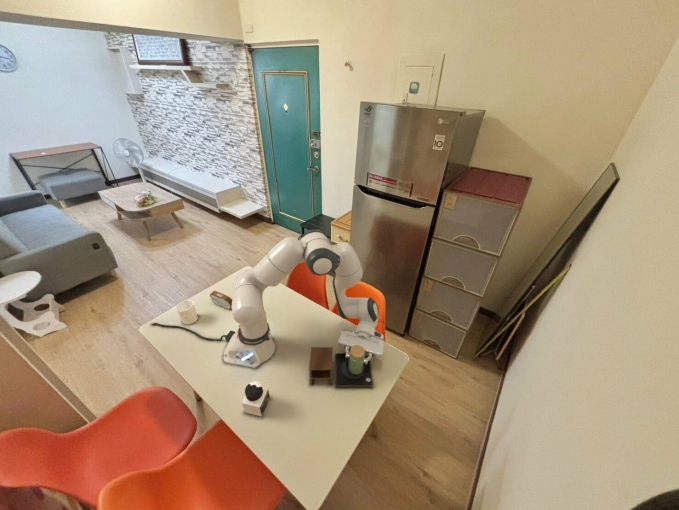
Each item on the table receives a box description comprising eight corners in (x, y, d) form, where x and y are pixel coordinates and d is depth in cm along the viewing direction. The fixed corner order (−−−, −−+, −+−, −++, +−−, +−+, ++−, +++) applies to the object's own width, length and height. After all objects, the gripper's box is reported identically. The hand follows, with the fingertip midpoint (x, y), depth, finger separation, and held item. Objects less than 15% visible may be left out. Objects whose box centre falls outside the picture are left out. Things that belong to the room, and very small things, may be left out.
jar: (348, 374, 110) (350, 357, 104) (347, 360, 115) (349, 344, 109) (363, 374, 110) (366, 357, 104) (362, 360, 116) (364, 344, 109)
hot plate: (335, 388, 108) (335, 384, 106) (335, 355, 120) (335, 351, 118) (372, 387, 108) (373, 383, 106) (368, 355, 121) (368, 351, 119)
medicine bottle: (262, 417, 98) (257, 400, 91) (244, 412, 99) (238, 395, 92) (270, 398, 103) (266, 380, 97) (253, 394, 104) (248, 376, 98)
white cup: (202, 318, 136) (197, 303, 130) (187, 327, 130) (181, 313, 125) (193, 311, 139) (187, 297, 134) (178, 321, 134) (172, 306, 128)
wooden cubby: (310, 384, 108) (309, 369, 102) (311, 362, 117) (311, 347, 111) (332, 384, 109) (332, 368, 103) (332, 362, 117) (332, 347, 111)
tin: (236, 308, 142) (233, 296, 137) (231, 312, 140) (228, 300, 135) (215, 299, 147) (212, 288, 142) (211, 303, 145) (207, 291, 140)
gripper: (342, 323, 120) (332, 348, 109) (387, 336, 115) (381, 363, 104) (342, 333, 124) (332, 357, 113) (385, 345, 119) (379, 372, 108)
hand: (356, 360), depth 109 cm, fingers closed on jar, 6 cm apart
